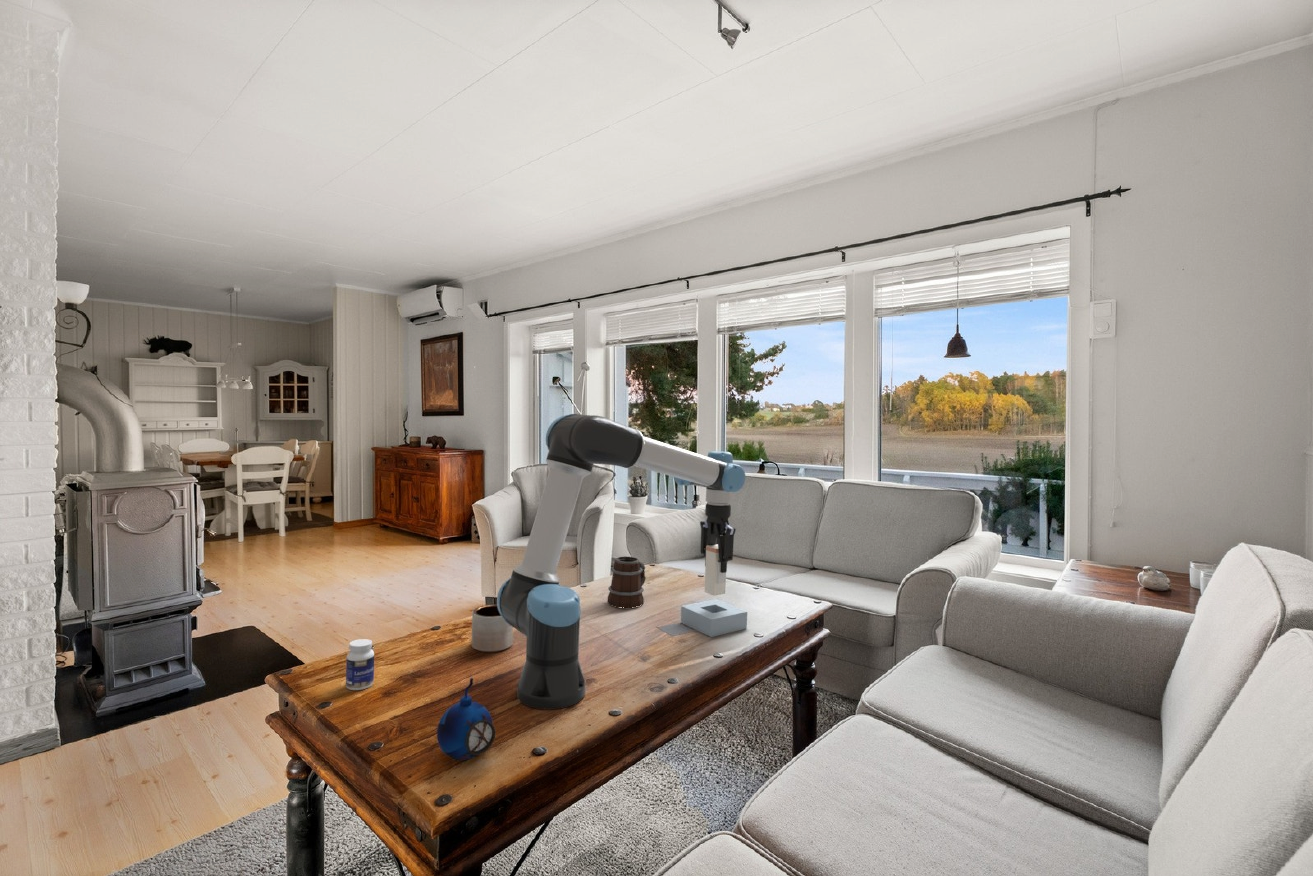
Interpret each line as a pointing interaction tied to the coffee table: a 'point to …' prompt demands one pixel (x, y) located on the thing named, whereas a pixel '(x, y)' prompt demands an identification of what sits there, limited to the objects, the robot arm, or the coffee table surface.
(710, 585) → the peg
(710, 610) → the socket block
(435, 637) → the coffee table surface
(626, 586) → the mug
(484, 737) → the bomb
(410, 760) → the coffee table surface
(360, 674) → the pill bottle
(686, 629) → the mat
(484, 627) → the planter
